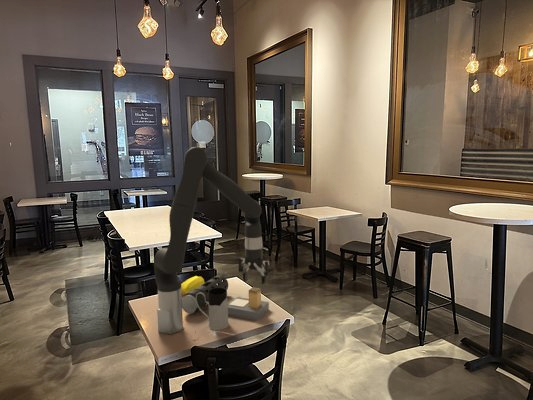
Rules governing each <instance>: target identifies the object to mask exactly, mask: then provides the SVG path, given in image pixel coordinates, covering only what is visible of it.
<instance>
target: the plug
mask: <svg viewBox="0 0 533 400" xmlns="http://www.w3.org/2000/svg"><path fill="white" fill-rule="evenodd" d="M261 289H262V288H260V287H254V286H253V287H251V288H250V289H248V299H249V307H250V308H256V309H258V308H259V307H260V306H261V301H262V290H261Z"/></svg>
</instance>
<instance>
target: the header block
mask: <svg viewBox="0 0 533 400" xmlns="http://www.w3.org/2000/svg"><path fill="white" fill-rule="evenodd" d="M269 303H270V301H264V300H261V306H260V307H259V308H258V309H256V308H250V307H249V298H247V297H241V296H240V297H239V296H236V297H235V298H233V300H232V301H230V302H228V316H231V317H235V318H236V317H237V318H241V319H247V320H253V321H257V322H258V321H259V320H260V319H261V318H262V317H264V315H265V314H266V313H267V312H268V311H269V309H270V308H269V307H270V305H269Z"/></svg>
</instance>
